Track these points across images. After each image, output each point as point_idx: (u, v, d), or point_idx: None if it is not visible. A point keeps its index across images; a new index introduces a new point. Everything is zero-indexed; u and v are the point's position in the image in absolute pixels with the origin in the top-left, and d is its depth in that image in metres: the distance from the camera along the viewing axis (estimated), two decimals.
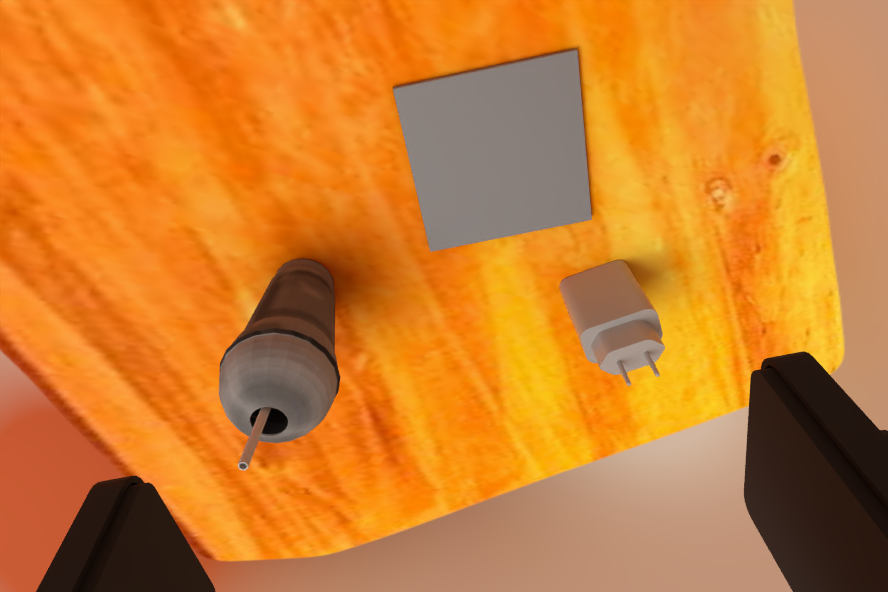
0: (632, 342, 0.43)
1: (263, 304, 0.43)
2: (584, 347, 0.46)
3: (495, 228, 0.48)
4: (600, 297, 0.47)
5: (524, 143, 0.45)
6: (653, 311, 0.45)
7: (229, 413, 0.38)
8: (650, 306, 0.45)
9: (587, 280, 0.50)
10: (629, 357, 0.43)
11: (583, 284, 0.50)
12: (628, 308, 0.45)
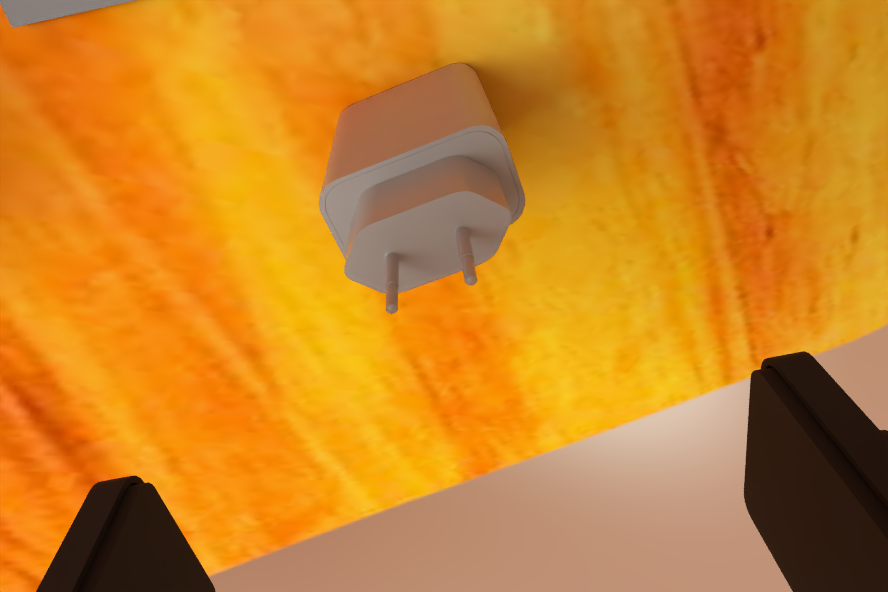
0: (422, 202, 0.16)
1: None
2: (335, 233, 0.19)
3: None
4: (391, 122, 0.20)
5: None
6: (494, 132, 0.17)
7: None
8: (489, 122, 0.18)
9: (383, 102, 0.22)
10: (419, 244, 0.16)
11: (372, 109, 0.22)
12: (436, 131, 0.18)
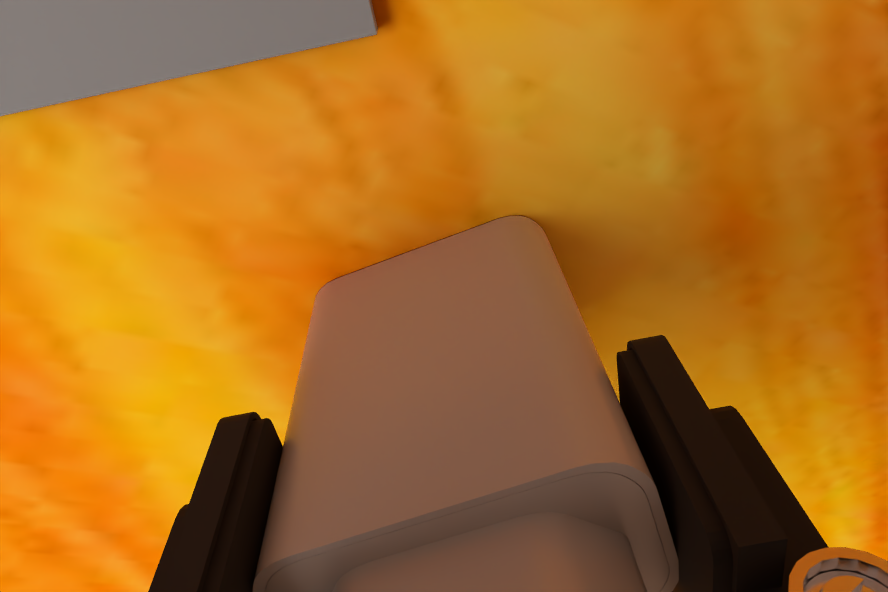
0: None
1: None
2: None
3: None
4: (403, 368, 0.11)
5: None
6: (632, 474, 0.08)
7: None
8: (616, 440, 0.08)
9: (388, 291, 0.13)
10: None
11: (369, 307, 0.13)
12: (500, 447, 0.08)
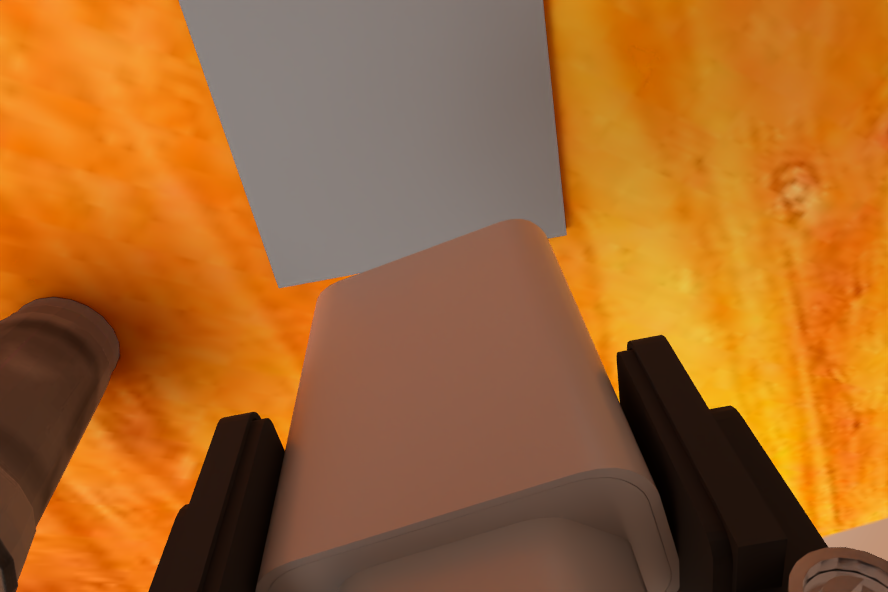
0: None
1: None
2: None
3: (392, 248, 0.27)
4: (405, 372, 0.11)
5: (436, 88, 0.24)
6: (634, 479, 0.08)
7: None
8: (618, 445, 0.08)
9: (390, 294, 0.13)
10: None
11: (371, 310, 0.13)
12: (502, 453, 0.08)
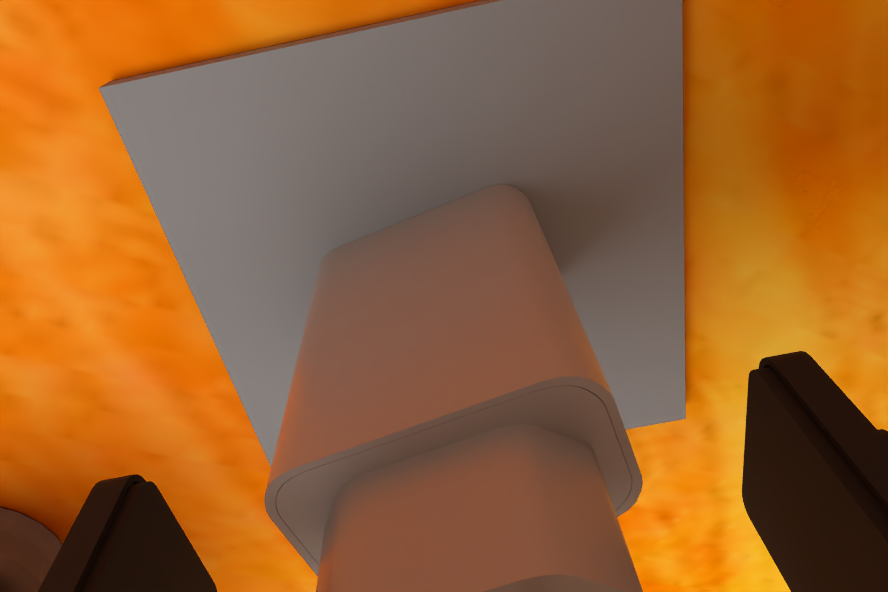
0: (460, 587, 0.07)
1: None
2: (297, 542, 0.10)
3: None
4: (397, 315, 0.12)
5: None
6: (592, 387, 0.09)
7: None
8: (579, 360, 0.09)
9: (385, 254, 0.14)
10: None
11: (367, 268, 0.14)
12: (478, 371, 0.10)
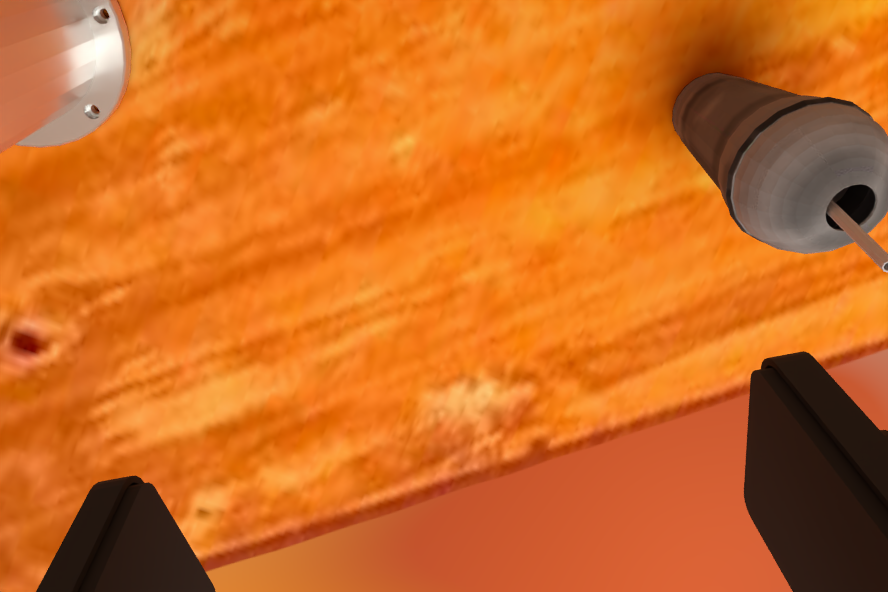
0: None
1: (706, 171, 0.36)
2: None
3: None
4: None
5: None
6: None
7: (823, 249, 0.30)
8: None
9: None
10: None
11: None
12: None
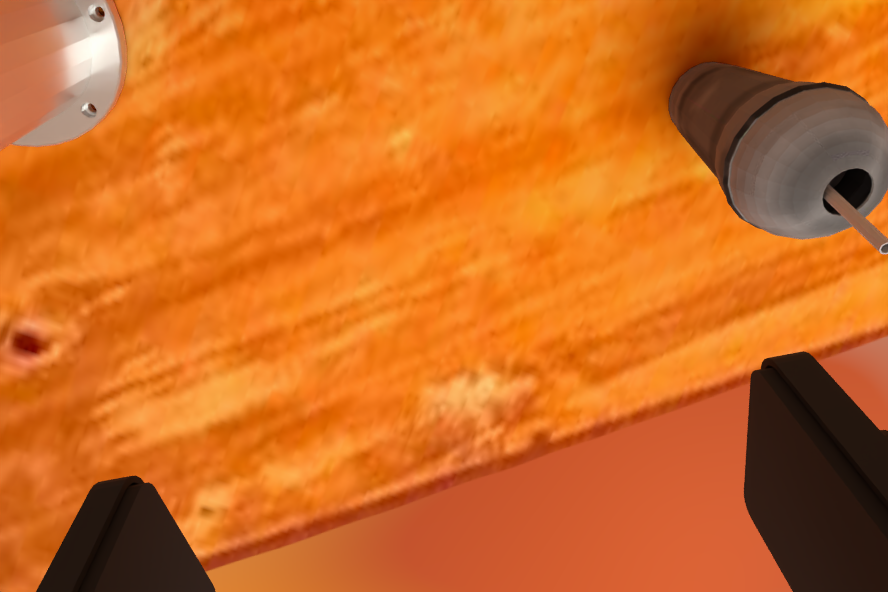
0: None
1: (703, 159, 0.36)
2: None
3: None
4: None
5: None
6: None
7: (821, 234, 0.30)
8: None
9: None
10: None
11: None
12: None
